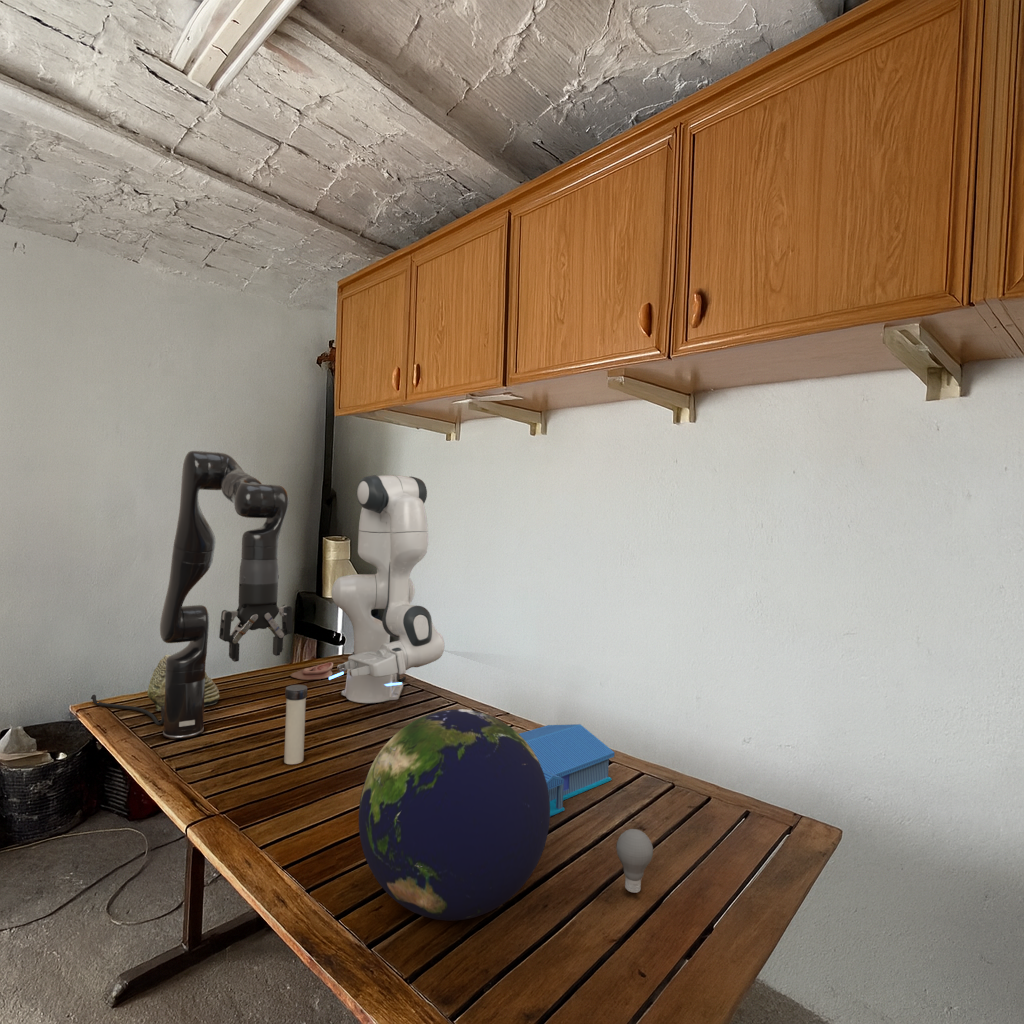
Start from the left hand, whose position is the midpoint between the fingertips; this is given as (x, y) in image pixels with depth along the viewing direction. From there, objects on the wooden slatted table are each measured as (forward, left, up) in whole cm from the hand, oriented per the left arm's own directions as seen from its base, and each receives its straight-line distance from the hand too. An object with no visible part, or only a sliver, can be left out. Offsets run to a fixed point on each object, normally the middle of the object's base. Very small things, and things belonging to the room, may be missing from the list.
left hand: (256, 657), depth 132 cm
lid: (-12, +15, -12) cm, 23 cm away
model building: (+33, +48, -29) cm, 65 cm away
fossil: (-67, +6, -29) cm, 73 cm away
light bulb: (+71, +36, -29) cm, 85 cm away
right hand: (-23, +34, -13) cm, 43 cm away
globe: (+54, +11, -29) cm, 62 cm away
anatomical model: (-75, +50, -29) cm, 95 cm away
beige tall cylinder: (-12, +15, -29) cm, 35 cm away
